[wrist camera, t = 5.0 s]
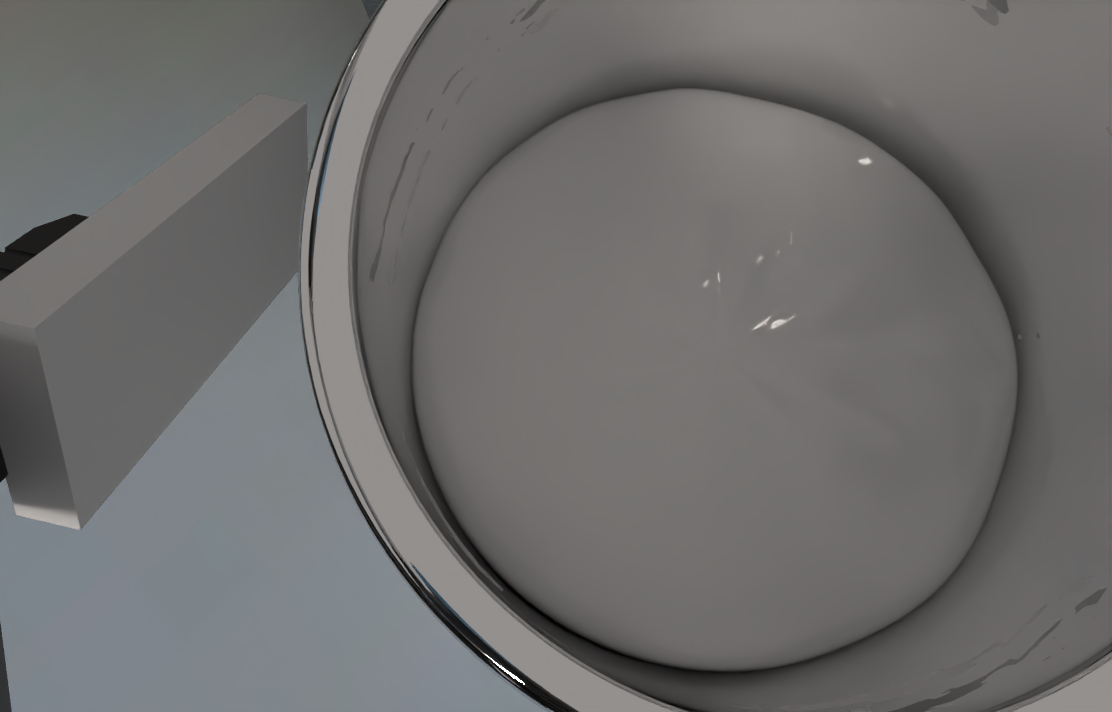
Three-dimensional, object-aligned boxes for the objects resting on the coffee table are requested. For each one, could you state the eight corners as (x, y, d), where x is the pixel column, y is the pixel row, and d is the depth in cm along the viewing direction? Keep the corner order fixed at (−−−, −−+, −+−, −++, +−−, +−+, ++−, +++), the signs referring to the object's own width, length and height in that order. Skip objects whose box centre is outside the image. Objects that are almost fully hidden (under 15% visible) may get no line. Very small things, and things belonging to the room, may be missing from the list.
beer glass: (695, 665, 19) (1086, 1118, 5) (425, 494, 20) (34, 425, 5) (849, 393, 20) (1568, 62, 6) (587, 239, 21) (625, -403, 6)
